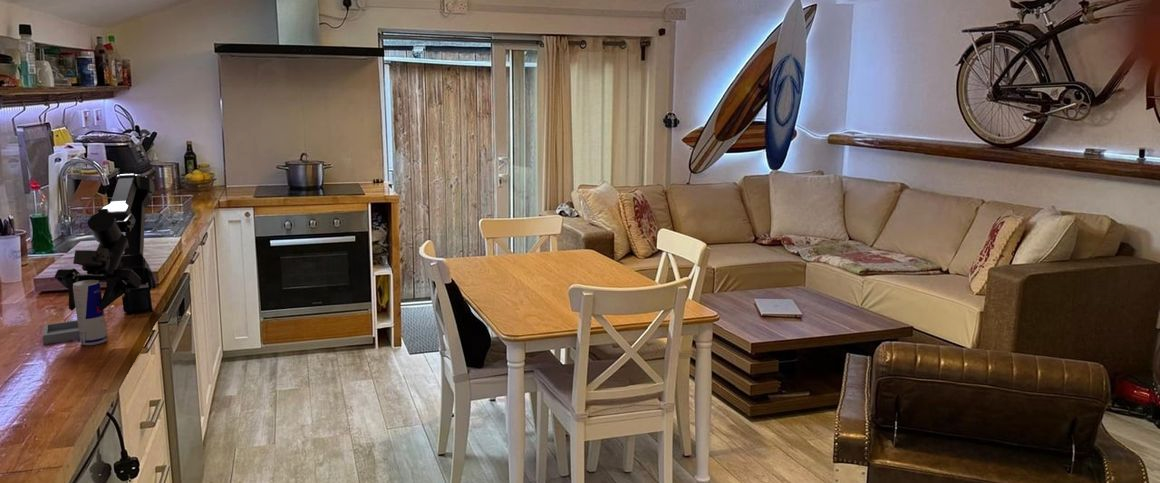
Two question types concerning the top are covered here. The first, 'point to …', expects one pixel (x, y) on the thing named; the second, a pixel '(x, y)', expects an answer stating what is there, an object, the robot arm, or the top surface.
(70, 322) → the tray
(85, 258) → the robot arm
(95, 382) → the top surface
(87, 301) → the beverage can
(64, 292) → the top surface
